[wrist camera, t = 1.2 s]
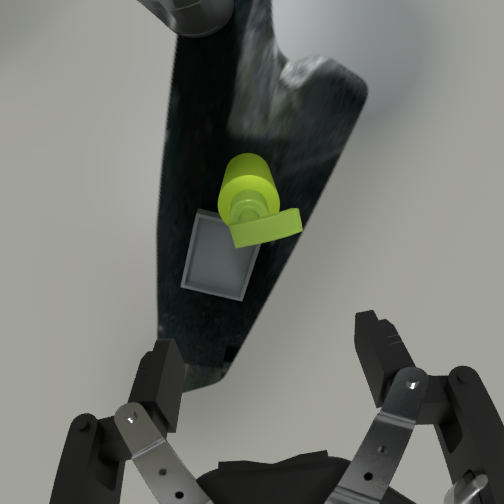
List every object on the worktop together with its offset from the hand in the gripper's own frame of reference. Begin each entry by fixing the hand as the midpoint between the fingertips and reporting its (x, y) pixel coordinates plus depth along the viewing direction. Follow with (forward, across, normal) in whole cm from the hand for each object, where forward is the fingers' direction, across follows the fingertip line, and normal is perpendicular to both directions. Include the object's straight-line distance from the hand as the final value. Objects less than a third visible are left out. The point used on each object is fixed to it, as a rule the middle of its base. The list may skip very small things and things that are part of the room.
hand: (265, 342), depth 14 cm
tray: (+32, +6, +11) cm, 34 cm away
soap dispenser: (+32, 0, 0) cm, 32 cm away
